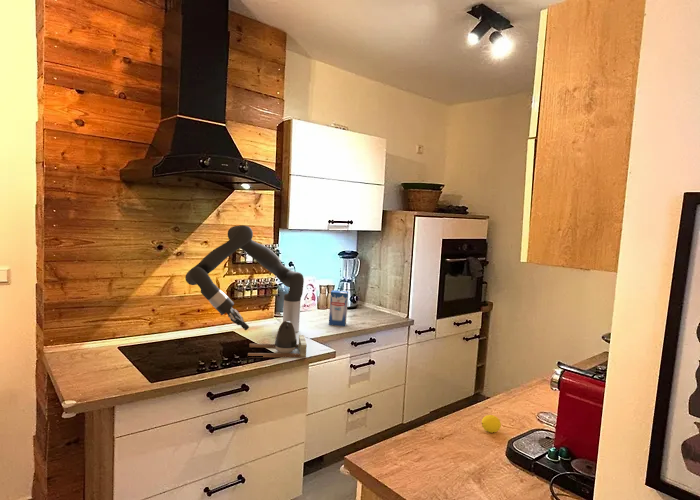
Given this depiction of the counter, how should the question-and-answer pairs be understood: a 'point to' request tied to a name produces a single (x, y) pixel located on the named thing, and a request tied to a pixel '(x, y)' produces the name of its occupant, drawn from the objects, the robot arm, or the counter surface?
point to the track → (302, 353)
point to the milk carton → (338, 308)
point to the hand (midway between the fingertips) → (247, 328)
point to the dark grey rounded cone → (286, 338)
